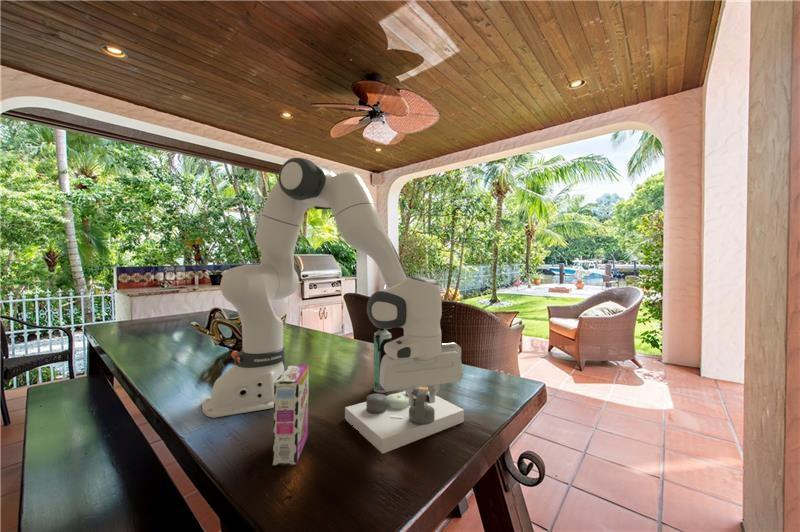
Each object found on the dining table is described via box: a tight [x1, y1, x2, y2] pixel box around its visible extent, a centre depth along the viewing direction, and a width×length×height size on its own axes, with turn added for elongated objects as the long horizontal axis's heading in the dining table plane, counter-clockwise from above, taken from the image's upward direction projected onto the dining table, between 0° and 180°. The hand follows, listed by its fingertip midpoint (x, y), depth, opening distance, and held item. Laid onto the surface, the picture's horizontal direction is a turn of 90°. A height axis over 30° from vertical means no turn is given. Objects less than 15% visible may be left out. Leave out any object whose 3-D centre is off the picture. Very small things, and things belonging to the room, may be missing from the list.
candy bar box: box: [272, 365, 310, 467], centre depth 68 cm, size 11×5×16 cm, turn 5°
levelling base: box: [344, 386, 465, 454], centre depth 81 cm, size 24×18×6 cm
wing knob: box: [409, 386, 435, 425], centre depth 76 cm, size 9×6×6 cm, turn 170°
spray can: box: [373, 328, 393, 394], centre depth 101 cm, size 6×6×20 cm
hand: (421, 403), depth 76 cm, fingers closed on wing knob, 3 cm apart
